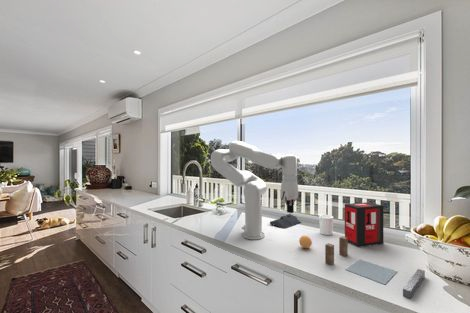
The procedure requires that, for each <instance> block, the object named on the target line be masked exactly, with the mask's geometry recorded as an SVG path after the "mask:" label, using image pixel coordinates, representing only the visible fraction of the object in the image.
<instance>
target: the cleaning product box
mask: <svg viewBox="0 0 470 313" xmlns="http://www.w3.org/2000/svg"><path fill="white" fill-rule="evenodd" d="M344 237H347V238H348V244H350V245H353V246H354V247H357V248H362V246H363V247H370V246H374V245H375V246H376V244H377V245H383V244H384V205H381V204H377V203H374V202H371V201H369V202H355V203H353V202H352V203H344ZM369 245H370V246H369Z"/></svg>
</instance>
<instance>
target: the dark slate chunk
mask: <svg viewBox="0 0 470 313" xmlns="http://www.w3.org/2000/svg"><path fill="white" fill-rule="evenodd" d="M269 224H270V225H273V226H275V227H277V228H280V229H284V230H286V229H288V228H292V227H294V226H297V225H300V224H302V221H300V220H298V217H296V216H295V215H293V214H292V213H289V214H286V215H283V216H280V218H278V219H275V220H270V221H269Z"/></svg>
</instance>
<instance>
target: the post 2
mask: <svg viewBox="0 0 470 313" xmlns="http://www.w3.org/2000/svg"><path fill="white" fill-rule="evenodd" d="M338 240H339V241H338V242H339V245H338V246H339V247H338V248H339V255H340V256H341V257H347V256H348V255H349V254H348V253H349V252H348V248H349V246H348V244H349V243H348V238H347V237H345V236H340V237H339V238H338Z"/></svg>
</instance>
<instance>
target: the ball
mask: <svg viewBox="0 0 470 313" xmlns="http://www.w3.org/2000/svg"><path fill="white" fill-rule="evenodd" d="M298 242H299V245H300V246H301V248H303V249H309V248H310V247H312V245H313V241H312V239H311V237H309V236H308V235H302V236H301V237H300V238H299V240H298Z"/></svg>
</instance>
